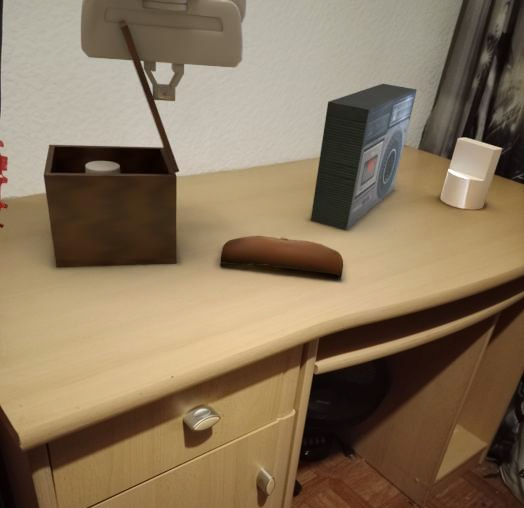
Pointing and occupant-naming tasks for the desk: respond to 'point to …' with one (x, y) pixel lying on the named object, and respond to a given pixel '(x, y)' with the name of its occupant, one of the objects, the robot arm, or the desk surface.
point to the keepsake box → (111, 206)
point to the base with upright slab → (470, 174)
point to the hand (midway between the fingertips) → (163, 99)
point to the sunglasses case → (282, 254)
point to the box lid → (148, 95)
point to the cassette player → (360, 153)
